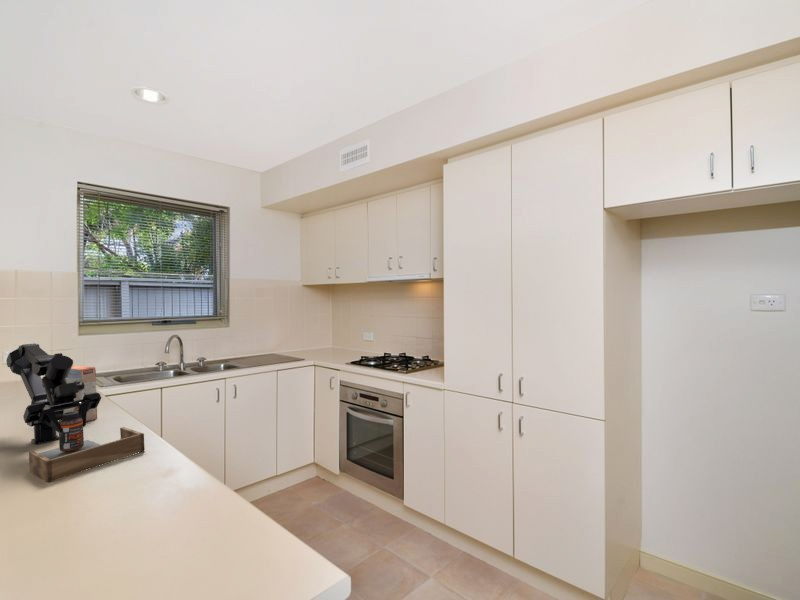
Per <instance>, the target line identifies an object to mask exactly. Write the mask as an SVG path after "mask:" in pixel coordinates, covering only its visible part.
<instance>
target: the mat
mask: <svg viewBox="0 0 800 600" xmlns="http://www.w3.org/2000/svg"><path fill="white" fill-rule="evenodd" d="M99 445H101V444H100V443H98V442H97V443H96V442H94V441H92V440H89V439H86V440H84V446H83V447H82V448H80V449H78V450H74V451H69V452H62V451H60V447H56V448H53V449H49V450H45V451H41V452H37V453H38V454H40V455H42V456H44V457H46V458H48V459H54V458H57V457H61V456H64V455H68V454H71V453H75V452H78V451H82V450H85V449H89V448H92V447H96V446H99Z"/></svg>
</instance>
